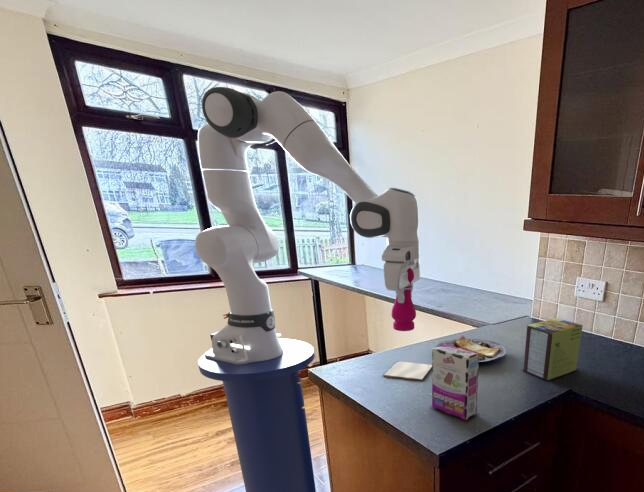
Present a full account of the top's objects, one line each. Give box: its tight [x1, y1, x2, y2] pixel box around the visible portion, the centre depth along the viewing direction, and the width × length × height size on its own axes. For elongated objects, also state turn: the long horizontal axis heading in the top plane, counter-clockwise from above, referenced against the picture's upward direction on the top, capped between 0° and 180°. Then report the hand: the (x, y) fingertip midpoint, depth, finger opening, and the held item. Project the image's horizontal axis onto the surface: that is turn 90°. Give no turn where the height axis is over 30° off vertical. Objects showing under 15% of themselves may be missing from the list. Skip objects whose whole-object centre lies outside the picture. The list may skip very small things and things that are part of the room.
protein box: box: [522, 317, 584, 381], centre depth 130 cm, size 10×15×16 cm
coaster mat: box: [383, 360, 432, 381], centre depth 127 cm, size 12×12×1 cm
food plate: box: [435, 335, 507, 363], centre depth 142 cm, size 25×23×4 cm
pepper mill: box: [390, 268, 417, 332], centre depth 118 cm, size 7×7×20 cm
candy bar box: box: [431, 344, 480, 421], centre depth 101 cm, size 11×5×16 cm, turn 55°
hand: (404, 300), depth 118 cm, fingers closed on pepper mill, 4 cm apart
